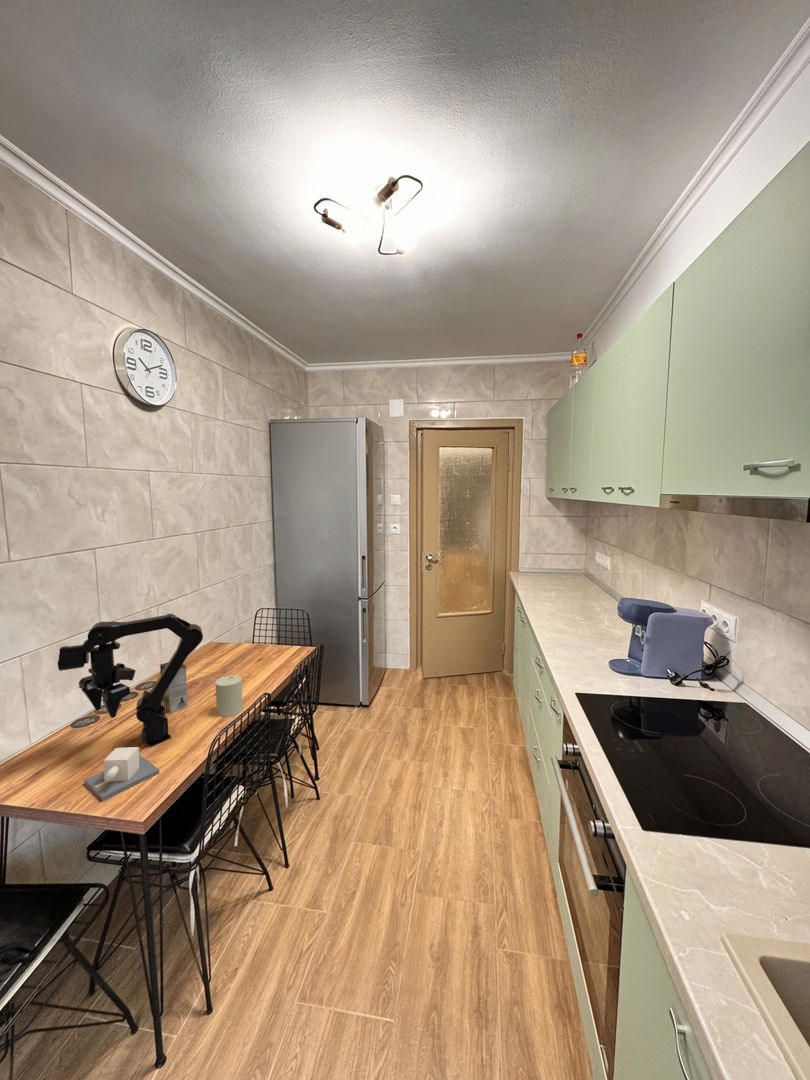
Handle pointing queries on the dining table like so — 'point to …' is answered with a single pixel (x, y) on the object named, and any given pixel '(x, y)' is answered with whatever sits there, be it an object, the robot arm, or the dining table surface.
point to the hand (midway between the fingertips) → (105, 713)
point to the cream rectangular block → (121, 764)
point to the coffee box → (176, 690)
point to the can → (229, 695)
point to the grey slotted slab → (115, 787)
